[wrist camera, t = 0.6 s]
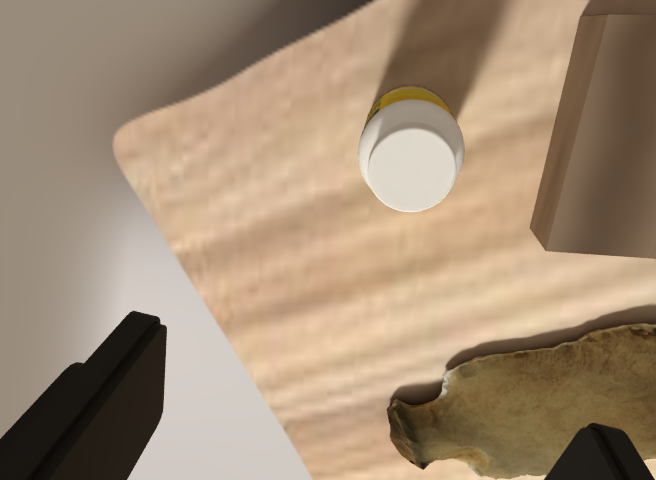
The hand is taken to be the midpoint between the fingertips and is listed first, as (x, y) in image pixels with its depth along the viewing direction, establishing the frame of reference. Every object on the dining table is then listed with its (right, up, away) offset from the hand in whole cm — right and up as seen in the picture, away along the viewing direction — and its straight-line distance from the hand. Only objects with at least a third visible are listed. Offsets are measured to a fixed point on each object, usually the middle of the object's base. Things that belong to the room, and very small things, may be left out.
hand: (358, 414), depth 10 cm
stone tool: (+17, -9, +27) cm, 33 cm away
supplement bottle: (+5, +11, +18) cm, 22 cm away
